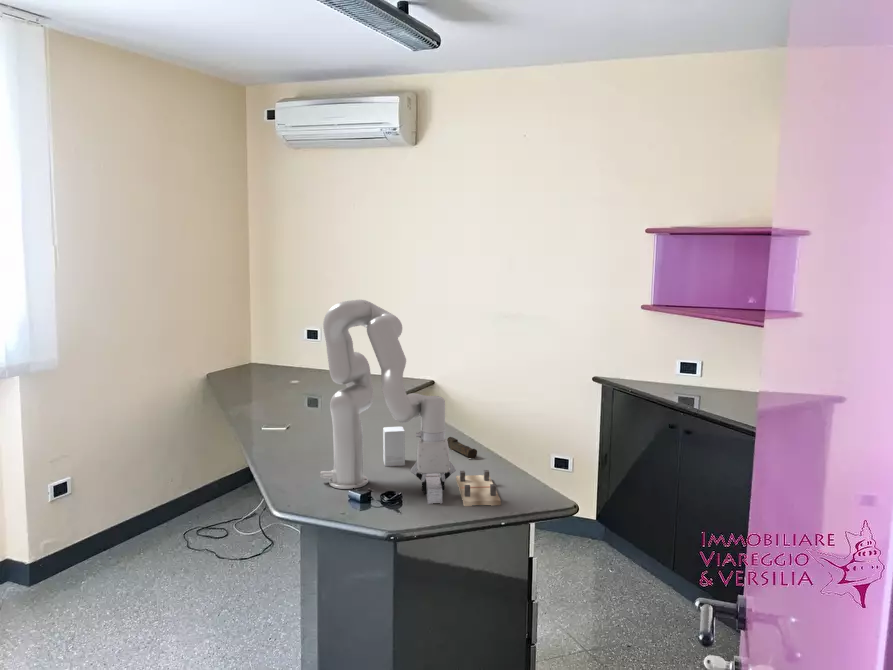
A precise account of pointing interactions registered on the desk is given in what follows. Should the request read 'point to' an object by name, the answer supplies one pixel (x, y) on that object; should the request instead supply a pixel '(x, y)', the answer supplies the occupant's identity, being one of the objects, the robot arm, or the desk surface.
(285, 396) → the desk surface
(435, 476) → the light grey long block
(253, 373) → the desk surface
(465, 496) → the board
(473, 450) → the hand tool
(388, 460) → the supplement box
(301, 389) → the desk surface
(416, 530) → the desk surface
